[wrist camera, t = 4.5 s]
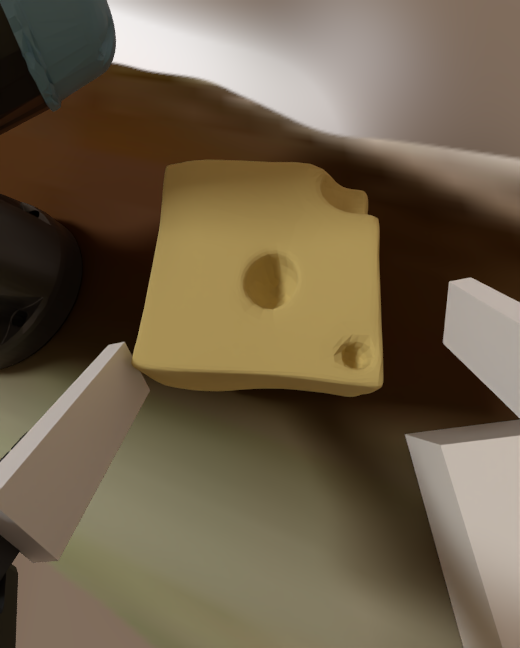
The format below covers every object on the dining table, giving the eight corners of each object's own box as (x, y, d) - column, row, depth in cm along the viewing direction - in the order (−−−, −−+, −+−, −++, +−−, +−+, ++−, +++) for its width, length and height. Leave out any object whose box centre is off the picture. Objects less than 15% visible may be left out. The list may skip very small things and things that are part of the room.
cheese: (354, 258, 21) (389, 141, 12) (352, 406, 18) (396, 408, 9) (222, 258, 23) (161, 156, 14) (202, 391, 20) (109, 380, 11)
